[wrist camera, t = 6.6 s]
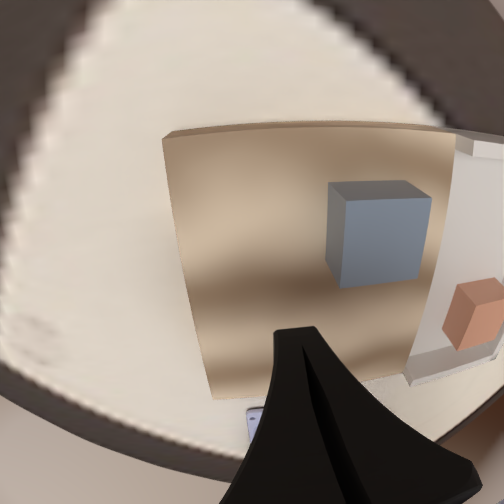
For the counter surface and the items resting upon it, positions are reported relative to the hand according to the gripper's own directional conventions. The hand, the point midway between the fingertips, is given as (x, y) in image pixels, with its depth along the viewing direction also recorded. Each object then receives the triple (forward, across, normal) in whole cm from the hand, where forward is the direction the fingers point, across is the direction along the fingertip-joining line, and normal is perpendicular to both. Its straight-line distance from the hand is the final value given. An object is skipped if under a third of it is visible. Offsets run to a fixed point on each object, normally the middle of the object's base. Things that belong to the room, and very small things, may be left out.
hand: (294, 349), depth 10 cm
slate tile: (+6, -5, -2) cm, 8 cm away
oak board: (+8, -3, +2) cm, 9 cm away
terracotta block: (+7, -15, +6) cm, 17 cm away
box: (+8, -14, +2) cm, 17 cm away
